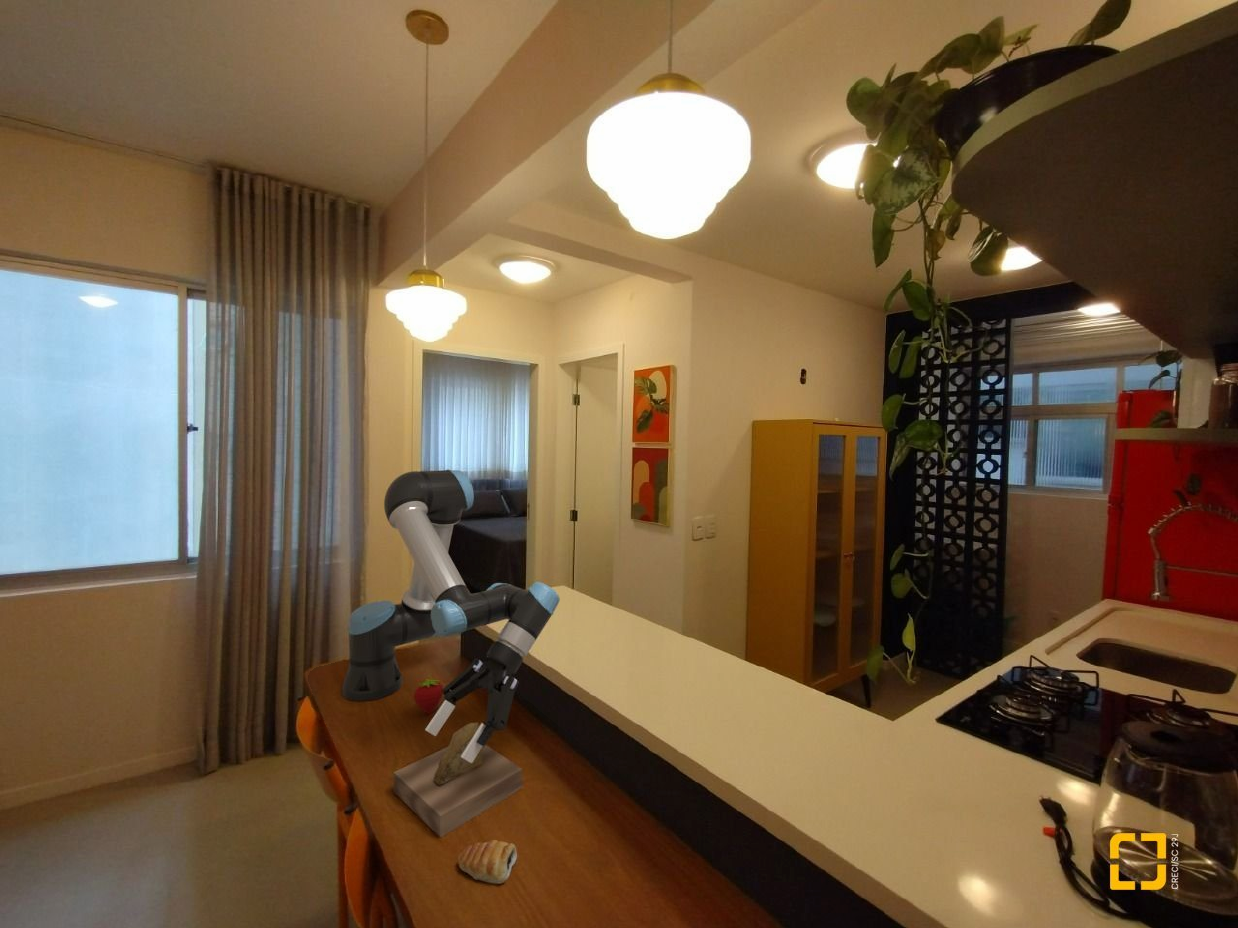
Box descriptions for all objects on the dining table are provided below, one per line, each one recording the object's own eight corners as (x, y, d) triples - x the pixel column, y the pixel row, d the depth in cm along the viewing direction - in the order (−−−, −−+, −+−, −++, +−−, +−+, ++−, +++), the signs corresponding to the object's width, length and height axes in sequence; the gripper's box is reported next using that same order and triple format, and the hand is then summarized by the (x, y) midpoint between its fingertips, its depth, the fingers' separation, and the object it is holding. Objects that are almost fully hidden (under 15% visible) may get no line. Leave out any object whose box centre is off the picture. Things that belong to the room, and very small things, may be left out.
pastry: (450, 880, 85) (450, 857, 84) (468, 848, 91) (468, 827, 91) (505, 888, 83) (505, 864, 83) (520, 855, 90) (520, 833, 90)
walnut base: (393, 791, 105) (393, 772, 105) (472, 752, 119) (472, 735, 118) (440, 837, 93) (440, 815, 93) (521, 788, 107) (521, 769, 106)
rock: (433, 785, 98) (487, 766, 101) (426, 736, 102) (479, 719, 105) (436, 789, 106) (486, 771, 110) (429, 743, 110) (478, 728, 114)
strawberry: (409, 714, 135) (409, 676, 134) (437, 703, 140) (436, 667, 140) (420, 722, 131) (420, 683, 130) (448, 711, 136) (448, 673, 136)
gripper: (557, 674, 108) (495, 780, 97) (487, 642, 125) (428, 729, 114) (537, 656, 104) (470, 765, 93) (467, 626, 120) (404, 715, 110)
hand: (447, 746), depth 104 cm, fingers open, 13 cm apart
